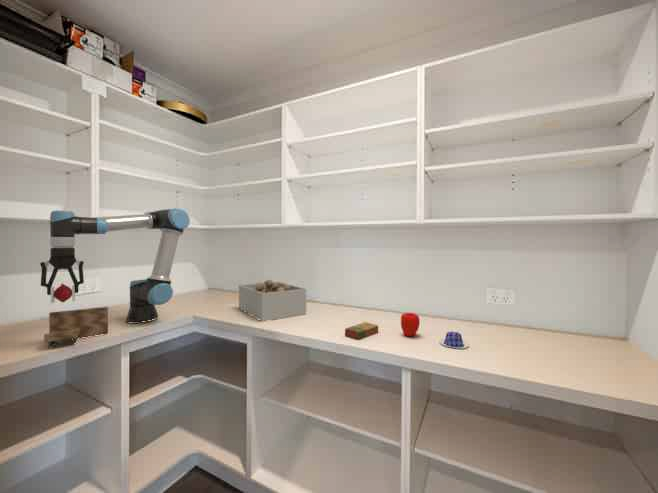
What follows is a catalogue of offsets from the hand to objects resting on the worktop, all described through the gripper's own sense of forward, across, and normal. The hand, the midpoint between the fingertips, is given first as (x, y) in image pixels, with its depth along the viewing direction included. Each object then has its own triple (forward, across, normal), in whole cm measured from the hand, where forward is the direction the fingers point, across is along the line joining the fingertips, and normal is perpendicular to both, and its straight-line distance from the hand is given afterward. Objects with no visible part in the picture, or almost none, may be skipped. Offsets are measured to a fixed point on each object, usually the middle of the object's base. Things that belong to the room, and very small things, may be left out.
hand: (63, 301), depth 120 cm
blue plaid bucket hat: (+20, -137, +99) cm, 170 cm away
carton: (+20, -113, +65) cm, 132 cm away
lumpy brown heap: (+19, -97, -2) cm, 99 cm away
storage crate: (+19, -98, -2) cm, 100 cm away
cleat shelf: (+19, 0, -2) cm, 19 cm away
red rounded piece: (+19, -131, +80) cm, 155 cm away
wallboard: (+19, -5, -7) cm, 21 cm away
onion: (0, 0, 0) cm, 0 cm away
